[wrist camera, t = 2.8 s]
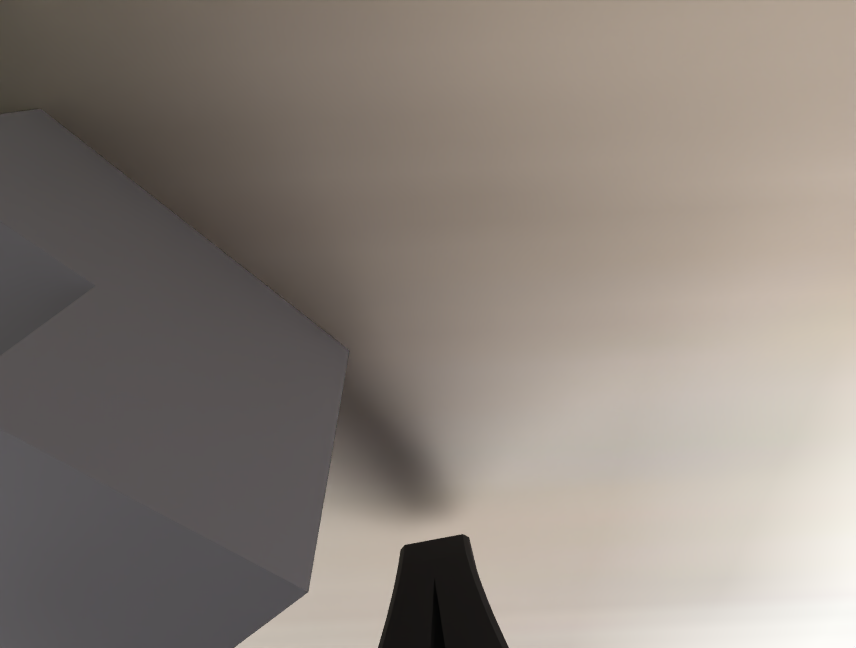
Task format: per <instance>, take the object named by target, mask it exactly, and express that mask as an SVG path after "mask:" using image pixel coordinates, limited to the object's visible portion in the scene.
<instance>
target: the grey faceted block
mask: <svg viewBox="0 0 856 648" xmlns="http://www.w3.org/2000/svg"><path fill="white" fill-rule="evenodd" d="M348 356H349V350H348V349H347V348H345V347H344V346H343V345H342V344H340V343H339V342H338V341H337V340H335V339H334V338H333V337H331V336H330V335H329V334H328V333H326V332H325V331H324V330H322V329H321V328H320V327H319V326H317V325H316V324H315V323H314V322H312V321H311V320H310V319H308V318H307V317H306V316H305V315H303V314H302V313H301V312H300V311H298V310H297V309H296V308H294V307H293V306H292V305H291V304H289V303H288V302H287V301H285V300H284V299H283V298H282V297H280V296H279V295H278V294H277V293H275V292H274V291H273V290H271V289H270V288H269V287H268V286H266V285H265V284H264V283H263V282H261V281H260V280H259V279H257V278H256V277H255V276H254V275H252V274H251V273H250V272H248V271H247V270H246V269H245V268H243V267H242V266H241V265H240V264H238V263H237V262H236V261H234V260H233V259H232V258H231V257H229V256H228V255H227V254H226V253H224V252H223V251H222V250H220V249H219V248H218V247H217V246H215V245H214V244H213V243H211V242H210V241H209V240H208V239H206V238H205V237H204V236H203V235H201V234H200V233H199V232H197V231H196V230H195V229H194V228H192V227H191V226H190V225H189V224H187V223H186V222H185V221H183V220H182V219H181V218H180V217H178V216H177V215H176V214H174V213H173V212H172V211H171V210H169V209H168V208H167V207H166V206H164V205H163V204H162V203H160V202H159V201H158V200H157V199H155V198H154V197H153V196H152V195H150V194H149V193H148V192H146V191H145V190H144V189H143V188H141V187H140V186H139V185H137V184H136V183H135V182H134V181H132V180H131V179H130V178H129V177H127V176H126V175H125V174H123V173H122V172H121V171H120V170H118V169H117V168H116V167H114V166H113V165H112V164H111V163H109V162H108V161H107V160H106V159H104V158H103V157H102V156H100V155H99V154H98V153H97V152H95V151H94V150H93V149H92V148H90V147H89V146H88V145H86V144H85V143H84V142H83V141H81V140H80V139H79V138H77V137H76V136H75V135H74V134H72V133H71V132H70V131H69V130H67V129H66V128H65V127H63V126H62V125H61V124H60V123H58V122H57V121H56V120H55V119H53V118H52V117H51V116H49V115H48V114H47V113H46V112H44V111H43V110H42V109H35V110H27V111H19V112H11V113H3V114H0V648H234V647H235V646H237V645H238V644H239V643H241V642H242V641H243V640H245V639H246V638H247V637H249V636H250V635H251V634H253V633H254V632H255V631H257V630H258V629H259V628H261V627H262V626H263V625H265V624H266V623H268V622H269V621H270V620H272V619H273V618H274V617H276V616H277V615H278V614H280V613H281V612H282V611H284V610H285V609H286V608H288V607H289V606H290V605H292V604H293V603H294V602H296V601H297V600H298V599H300V598H301V597H302V596H304V595H305V594H306V593H308V591H309V585H310V579H311V573H312V567H313V561H314V555H315V550H316V544H317V538H318V532H319V526H320V520H321V514H322V509H323V503H324V497H325V491H326V485H327V479H328V473H329V468H330V462H331V456H332V450H333V444H334V438H335V432H336V427H337V421H338V415H339V409H340V403H341V397H342V392H343V386H344V380H345V374H346V368H347V362H348Z"/></svg>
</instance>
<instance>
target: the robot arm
mask: <svg viewBox="0 0 856 648" xmlns="http://www.w3.org/2000/svg"><path fill="white" fill-rule="evenodd" d="M378 648H509V647H508V645H507V643H506V641H505V639H504V636H503V634H502V632H501V630H500V628H499V625H498V623H497V621H496V619H495V617H494V614H493V612H492V609H491V607H490V605H489V602H488V600H487V597H486V594H485V592H484V589H483V587H482V584H481V581H480V578H479V575H478V572H477V569H476V565H475V560H474V556H473V552H472V548H471V544H470V540H469V537H467V536H465V535H463V534H461V535H456V536H451V537H445V538H440V539H435V540H429V541H424V542H419V543H413V544H408V545H404V547H403V548H402V549H401V551H400V558H399V564H398V570H397V575H396V580H395V585H394V589H393V594H392V598H391V602H390V606H389V610H388V614H387V618H386V622H385V625H384V629H383V632H382V636H381V639H380V643H379V646H378Z"/></svg>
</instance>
